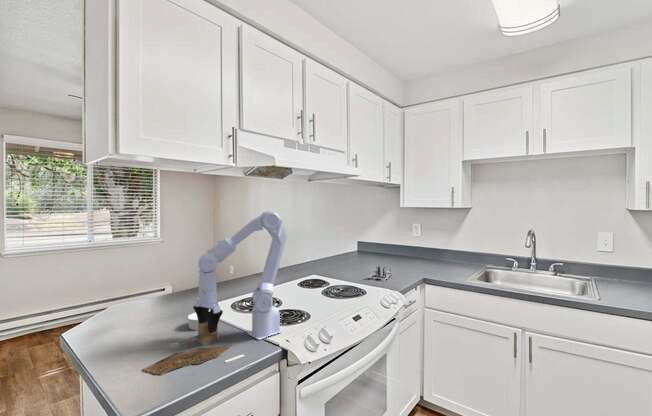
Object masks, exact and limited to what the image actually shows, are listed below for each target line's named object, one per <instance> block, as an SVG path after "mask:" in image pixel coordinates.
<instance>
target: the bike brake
mask: <svg viewBox="0 0 652 416" xmlns="http://www.w3.org/2000/svg"><path fill="white" fill-rule="evenodd" d="M375 268H376V269H373V270H372V273H371V274H369V275H368V277H367V278H364V279H362V281H363V280H364V281H366V279H367V280H370V279H375V280H374V281H383V280H385V281H386V279H387V280H388V279H389V278H390V277H391V276H392V275H393V273H394V272H393V271H392V266H390V267H389V270H386V266H384V267H383V268H382V271H381V266H380V265H379V266H378V265H377V264H376V265H375ZM381 272H382V277H383V276H386V277H385V278H382V279H381V278H380V277H381V276H380V275H381ZM376 275H377V277H376V278H375V277H373V276H376ZM378 276H380V277H378Z"/></svg>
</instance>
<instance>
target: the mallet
mask: <svg viewBox="0 0 652 416" xmlns="http://www.w3.org/2000/svg"><path fill="white" fill-rule="evenodd" d="M218 326H219V324H218V325H217V329H216V332H213V333H209V330H208V323H207V322H204V323H200V324H198V330H197V335H194V336H189V337H187V338H184V339H183V338H182V339H180V340H177V343H178V345H183V344H186V343H189V342H194V341H196V340H197V342H198V343H199V344H201V345H202V346H205V345H208V344H212V343H216V342H218V341H219V339H218V338H219V337H218V333H219V332H218V331H219V328H218Z"/></svg>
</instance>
